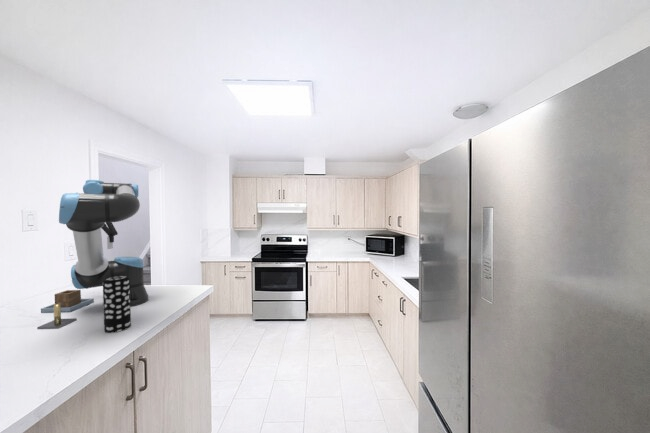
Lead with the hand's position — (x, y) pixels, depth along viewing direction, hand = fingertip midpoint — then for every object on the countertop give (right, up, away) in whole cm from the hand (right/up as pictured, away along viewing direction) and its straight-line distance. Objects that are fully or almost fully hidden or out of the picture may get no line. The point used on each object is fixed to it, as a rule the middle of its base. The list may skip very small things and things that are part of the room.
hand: (97, 248), depth 140 cm
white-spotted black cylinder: (+40, -27, -36) cm, 60 cm away
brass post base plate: (+12, -27, -32) cm, 43 cm away
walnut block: (-3, -26, -12) cm, 29 cm away
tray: (-3, -27, -12) cm, 30 cm away
